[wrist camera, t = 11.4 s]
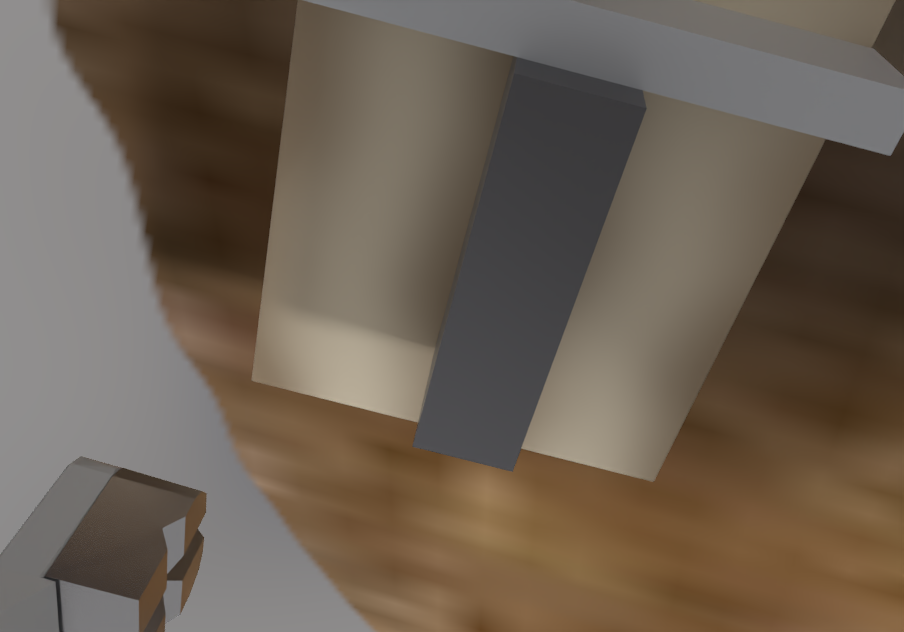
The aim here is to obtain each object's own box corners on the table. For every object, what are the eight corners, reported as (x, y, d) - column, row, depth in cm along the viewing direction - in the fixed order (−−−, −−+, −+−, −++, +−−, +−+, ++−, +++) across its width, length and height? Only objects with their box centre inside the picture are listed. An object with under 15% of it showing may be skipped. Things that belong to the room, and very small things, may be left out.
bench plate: (1022, -471, 17) (1171, -548, 13) (641, 378, 29) (653, 481, 25) (436, -640, 17) (392, -777, 12) (297, 291, 29) (251, 380, 24)
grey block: (873, 48, 18) (944, 114, 14) (689, 413, 23) (710, 521, 20) (312, -103, 17) (251, -71, 14) (262, 304, 23) (210, 395, 20)
